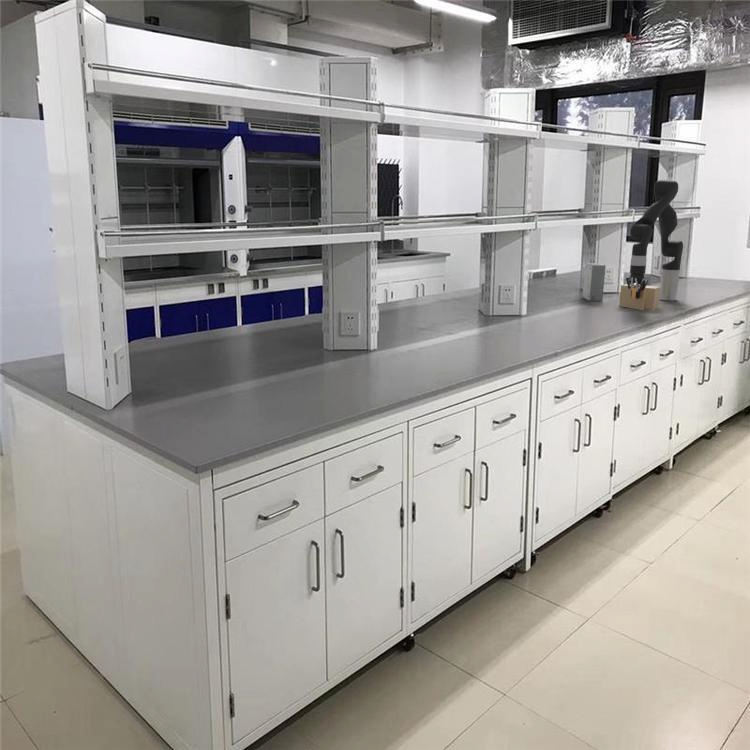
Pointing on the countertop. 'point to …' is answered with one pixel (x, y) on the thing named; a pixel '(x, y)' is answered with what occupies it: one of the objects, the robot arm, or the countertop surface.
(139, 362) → the countertop surface
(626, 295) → the flap
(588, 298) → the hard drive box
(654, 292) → the carton
